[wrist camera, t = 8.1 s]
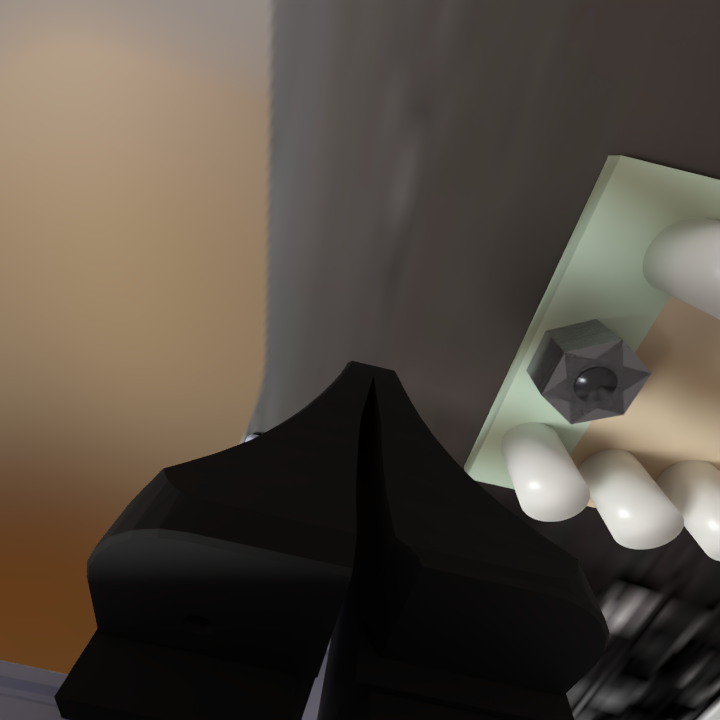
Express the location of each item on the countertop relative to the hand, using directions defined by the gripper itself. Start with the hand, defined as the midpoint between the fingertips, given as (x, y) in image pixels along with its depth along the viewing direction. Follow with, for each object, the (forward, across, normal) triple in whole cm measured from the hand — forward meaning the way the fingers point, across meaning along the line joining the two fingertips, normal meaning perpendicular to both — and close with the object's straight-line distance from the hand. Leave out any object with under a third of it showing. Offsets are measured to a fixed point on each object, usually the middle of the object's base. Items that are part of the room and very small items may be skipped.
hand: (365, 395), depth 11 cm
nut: (+9, -10, +1) cm, 14 cm away
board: (+10, -15, +1) cm, 18 cm away
